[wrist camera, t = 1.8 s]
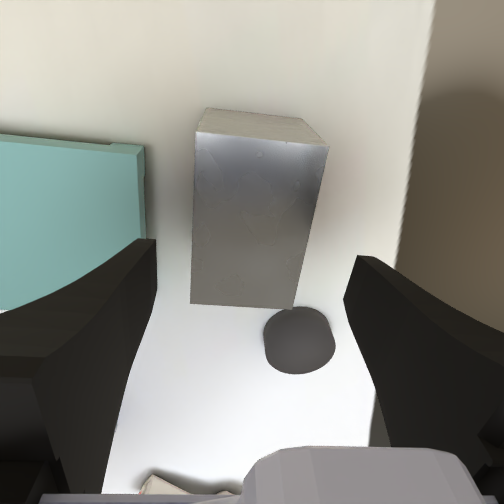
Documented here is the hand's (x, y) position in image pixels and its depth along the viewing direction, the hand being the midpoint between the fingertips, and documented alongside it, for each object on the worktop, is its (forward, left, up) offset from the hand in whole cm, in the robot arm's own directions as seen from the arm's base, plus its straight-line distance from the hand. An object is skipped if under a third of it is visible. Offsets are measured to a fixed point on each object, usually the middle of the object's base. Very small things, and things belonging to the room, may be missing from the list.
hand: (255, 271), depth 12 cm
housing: (0, 0, -9) cm, 9 cm away
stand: (-3, +11, -9) cm, 14 cm away
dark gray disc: (-11, -5, -9) cm, 15 cm away
